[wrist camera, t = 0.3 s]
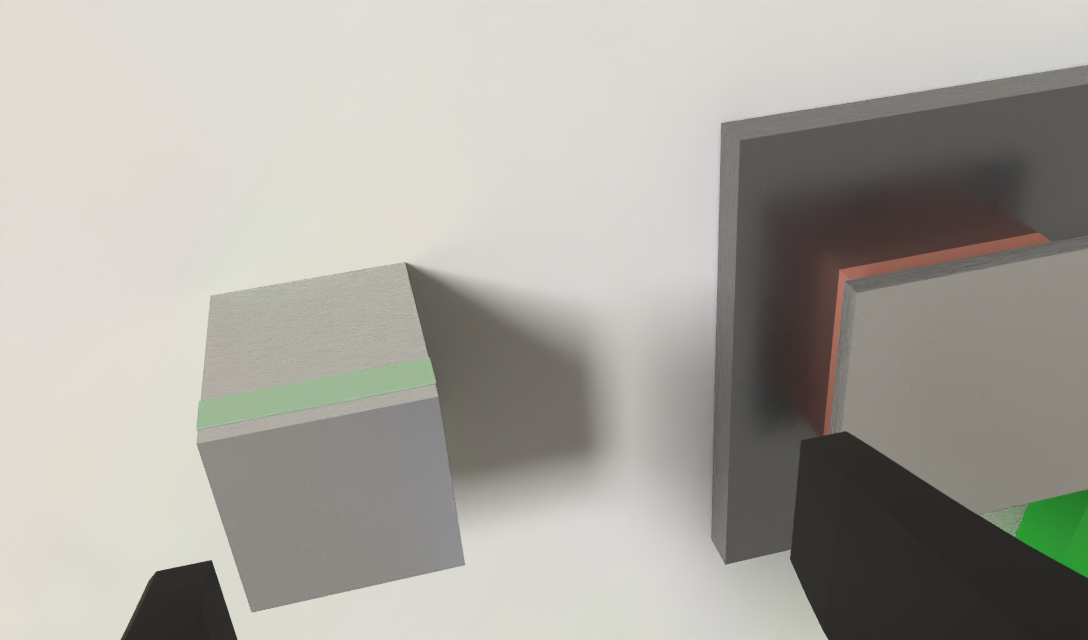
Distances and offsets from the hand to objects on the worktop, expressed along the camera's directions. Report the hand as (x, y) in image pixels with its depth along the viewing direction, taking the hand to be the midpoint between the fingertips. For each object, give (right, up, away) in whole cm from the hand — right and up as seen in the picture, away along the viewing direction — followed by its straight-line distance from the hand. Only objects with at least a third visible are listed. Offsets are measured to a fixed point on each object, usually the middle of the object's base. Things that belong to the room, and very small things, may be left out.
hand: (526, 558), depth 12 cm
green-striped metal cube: (-5, +2, +10) cm, 11 cm away
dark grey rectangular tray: (+9, +3, +13) cm, 16 cm away
